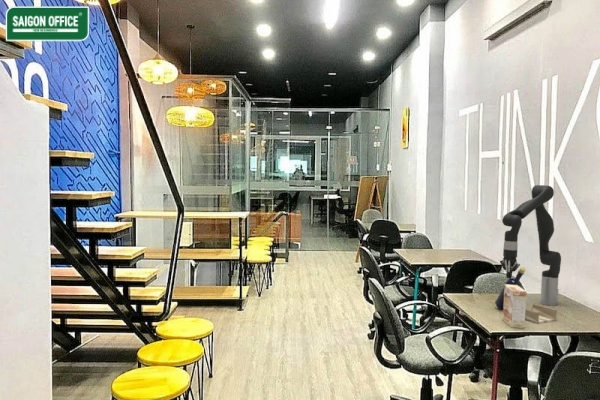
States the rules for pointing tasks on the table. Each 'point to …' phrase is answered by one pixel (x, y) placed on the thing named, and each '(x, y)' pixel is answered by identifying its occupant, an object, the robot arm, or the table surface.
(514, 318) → the coffeecake box
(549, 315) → the u rest
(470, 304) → the table surface
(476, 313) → the table surface
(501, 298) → the bottle
